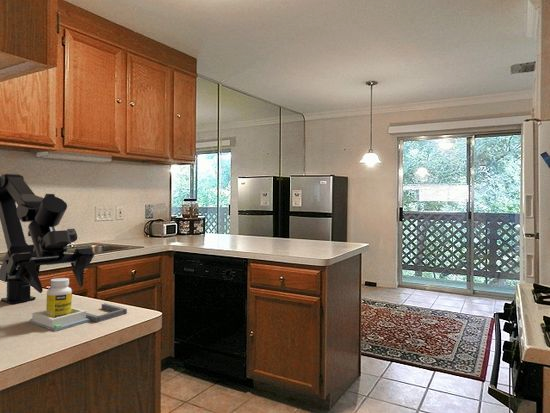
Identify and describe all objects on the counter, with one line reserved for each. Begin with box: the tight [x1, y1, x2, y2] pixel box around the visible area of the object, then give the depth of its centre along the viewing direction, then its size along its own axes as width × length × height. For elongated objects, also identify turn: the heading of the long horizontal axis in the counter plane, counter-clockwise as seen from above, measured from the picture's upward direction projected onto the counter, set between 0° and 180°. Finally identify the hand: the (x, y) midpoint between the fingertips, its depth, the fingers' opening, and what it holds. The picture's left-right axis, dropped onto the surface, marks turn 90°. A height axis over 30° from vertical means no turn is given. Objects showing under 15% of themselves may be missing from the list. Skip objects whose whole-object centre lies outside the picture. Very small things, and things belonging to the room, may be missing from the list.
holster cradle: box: [86, 303, 128, 323], centre depth 102 cm, size 9×9×1 cm
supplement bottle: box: [45, 277, 73, 318], centre depth 95 cm, size 5×5×10 cm
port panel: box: [28, 306, 90, 332], centre depth 95 cm, size 11×8×2 cm
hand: (62, 288), depth 94 cm, fingers open, 9 cm apart
